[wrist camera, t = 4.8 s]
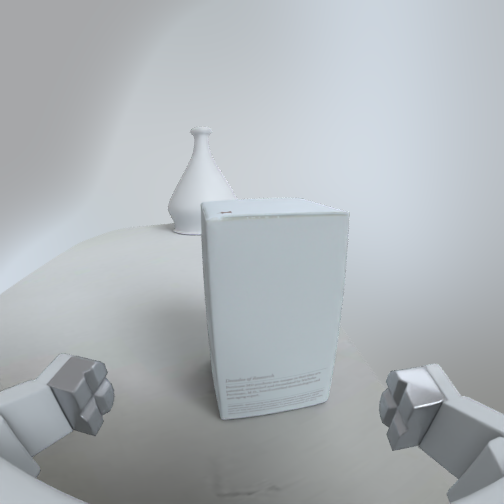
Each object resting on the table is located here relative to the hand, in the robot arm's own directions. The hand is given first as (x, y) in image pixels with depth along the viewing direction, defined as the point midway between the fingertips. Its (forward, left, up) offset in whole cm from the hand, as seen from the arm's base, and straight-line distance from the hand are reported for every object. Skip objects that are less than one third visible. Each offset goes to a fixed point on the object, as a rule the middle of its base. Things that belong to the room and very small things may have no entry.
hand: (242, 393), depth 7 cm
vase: (+66, -13, -9) cm, 68 cm away
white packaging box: (+10, -5, -9) cm, 14 cm away
